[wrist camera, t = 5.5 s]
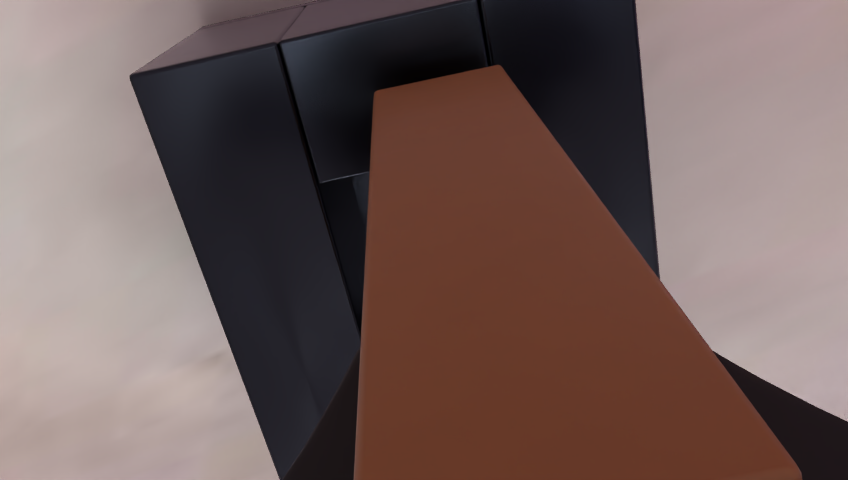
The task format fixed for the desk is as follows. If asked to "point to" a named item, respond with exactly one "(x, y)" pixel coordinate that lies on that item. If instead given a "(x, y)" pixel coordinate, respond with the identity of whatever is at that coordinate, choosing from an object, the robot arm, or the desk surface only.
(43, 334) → the desk surface
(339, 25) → the toaster
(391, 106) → the toast
